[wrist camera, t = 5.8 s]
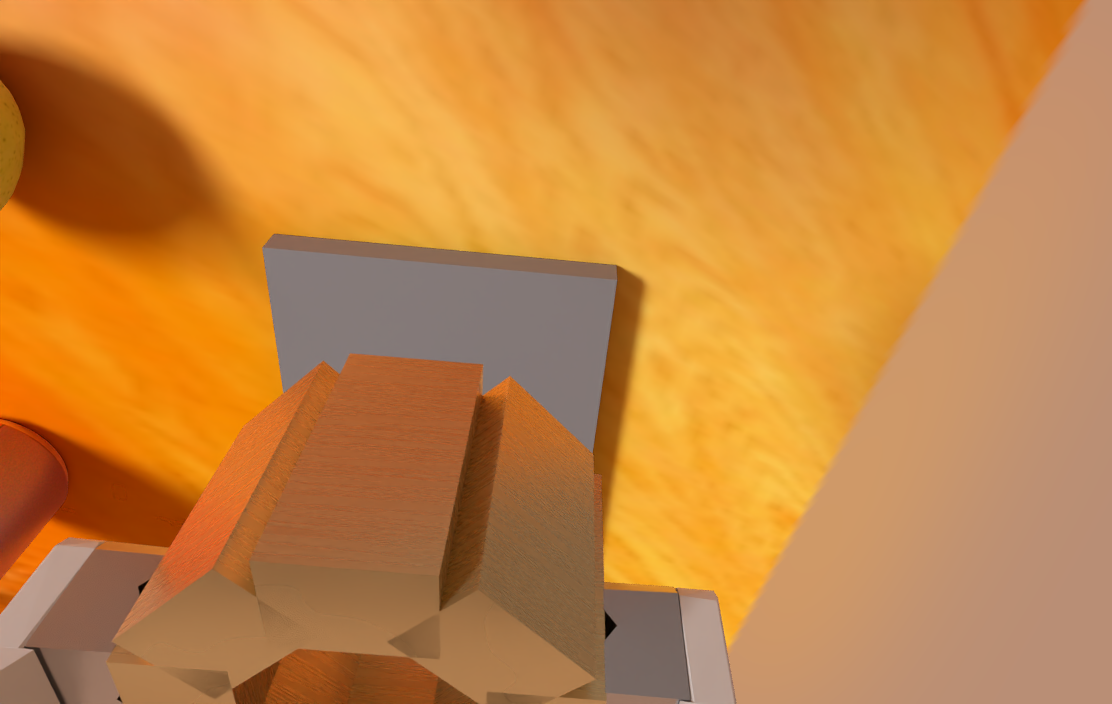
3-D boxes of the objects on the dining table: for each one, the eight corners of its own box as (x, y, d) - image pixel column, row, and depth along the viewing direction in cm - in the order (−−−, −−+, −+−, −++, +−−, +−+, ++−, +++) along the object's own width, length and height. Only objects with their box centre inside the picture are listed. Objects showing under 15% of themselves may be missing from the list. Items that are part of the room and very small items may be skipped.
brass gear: (216, 342, 10) (57, 546, 7) (615, 375, 10) (627, 591, 7) (269, 603, 13) (174, 826, 10) (578, 627, 13) (576, 856, 10)
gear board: (274, 234, 28) (202, 316, 23) (616, 265, 28) (622, 354, 23) (321, 585, 39) (280, 695, 34) (568, 606, 39) (564, 719, 34)
